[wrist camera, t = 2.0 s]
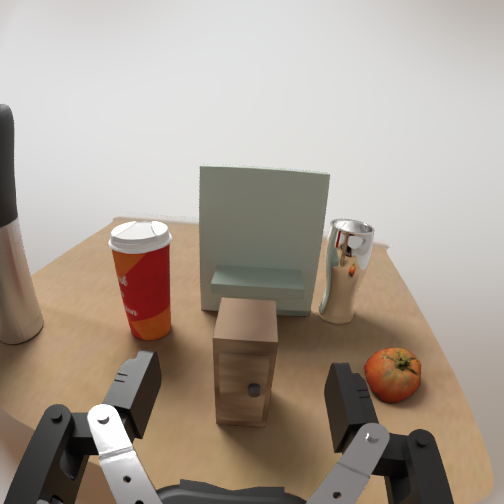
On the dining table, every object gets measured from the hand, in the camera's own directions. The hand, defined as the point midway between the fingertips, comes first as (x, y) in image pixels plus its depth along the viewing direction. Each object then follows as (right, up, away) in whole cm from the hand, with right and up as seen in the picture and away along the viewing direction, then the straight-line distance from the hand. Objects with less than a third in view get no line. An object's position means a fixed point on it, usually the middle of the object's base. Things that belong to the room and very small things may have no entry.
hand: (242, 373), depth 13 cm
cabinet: (-1, -11, +17) cm, 20 cm away
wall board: (+1, -4, +33) cm, 34 cm away
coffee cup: (-14, -6, +28) cm, 32 cm away
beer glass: (+14, -5, +34) cm, 37 cm away
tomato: (+18, -11, +20) cm, 29 cm away
